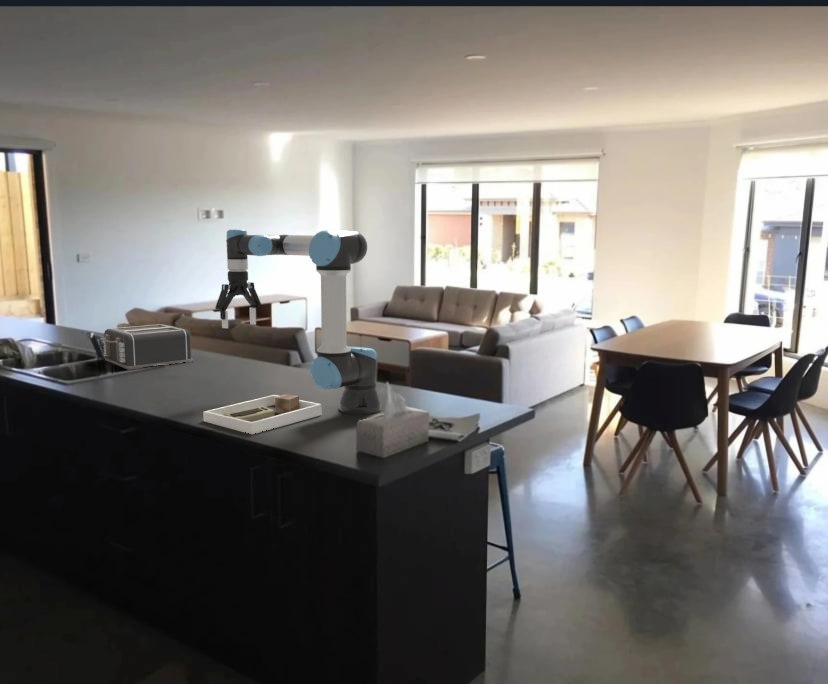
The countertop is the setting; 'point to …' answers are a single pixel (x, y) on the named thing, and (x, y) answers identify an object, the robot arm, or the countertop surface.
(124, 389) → the countertop surface
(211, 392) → the countertop surface
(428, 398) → the countertop surface
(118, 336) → the toaster
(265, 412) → the computer
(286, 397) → the block
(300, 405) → the bin
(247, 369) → the countertop surface
